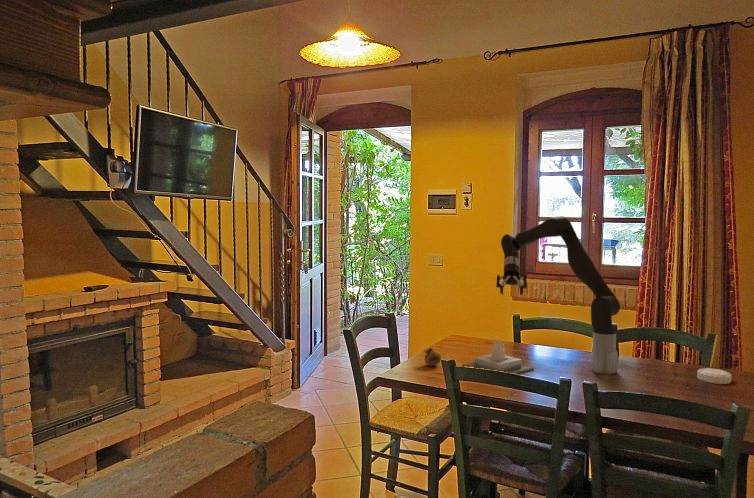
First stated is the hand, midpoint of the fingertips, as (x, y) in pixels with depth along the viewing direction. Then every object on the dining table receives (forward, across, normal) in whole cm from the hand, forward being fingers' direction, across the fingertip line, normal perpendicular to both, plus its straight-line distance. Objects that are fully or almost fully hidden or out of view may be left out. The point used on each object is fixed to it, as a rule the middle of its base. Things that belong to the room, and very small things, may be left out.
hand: (511, 293), depth 256 cm
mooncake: (+34, +82, +10) cm, 89 cm away
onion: (+38, -35, +6) cm, 52 cm away
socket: (+36, -6, +7) cm, 37 cm away
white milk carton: (+35, -6, +7) cm, 36 cm away
